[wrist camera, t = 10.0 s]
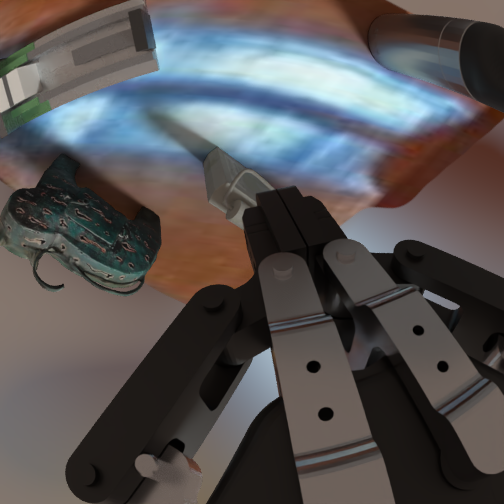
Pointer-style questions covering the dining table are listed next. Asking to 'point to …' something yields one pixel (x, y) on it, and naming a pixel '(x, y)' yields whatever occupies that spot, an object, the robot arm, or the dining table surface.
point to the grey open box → (66, 73)
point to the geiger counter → (231, 185)
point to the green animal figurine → (79, 231)
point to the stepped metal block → (120, 39)
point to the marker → (19, 86)
